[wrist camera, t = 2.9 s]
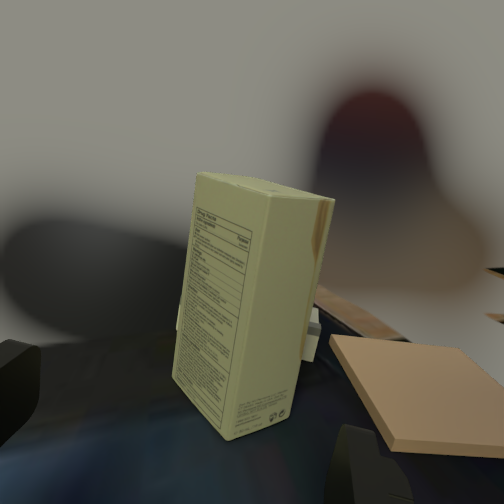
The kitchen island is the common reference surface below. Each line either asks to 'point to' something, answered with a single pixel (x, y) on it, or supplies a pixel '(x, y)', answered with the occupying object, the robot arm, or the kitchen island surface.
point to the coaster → (425, 396)
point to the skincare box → (247, 298)
